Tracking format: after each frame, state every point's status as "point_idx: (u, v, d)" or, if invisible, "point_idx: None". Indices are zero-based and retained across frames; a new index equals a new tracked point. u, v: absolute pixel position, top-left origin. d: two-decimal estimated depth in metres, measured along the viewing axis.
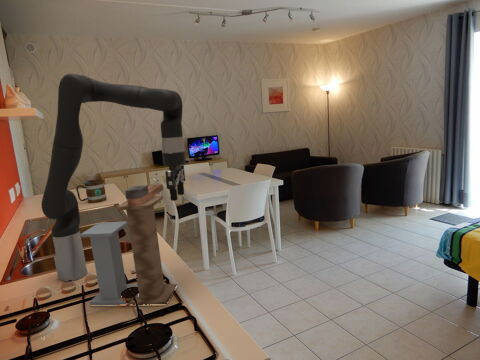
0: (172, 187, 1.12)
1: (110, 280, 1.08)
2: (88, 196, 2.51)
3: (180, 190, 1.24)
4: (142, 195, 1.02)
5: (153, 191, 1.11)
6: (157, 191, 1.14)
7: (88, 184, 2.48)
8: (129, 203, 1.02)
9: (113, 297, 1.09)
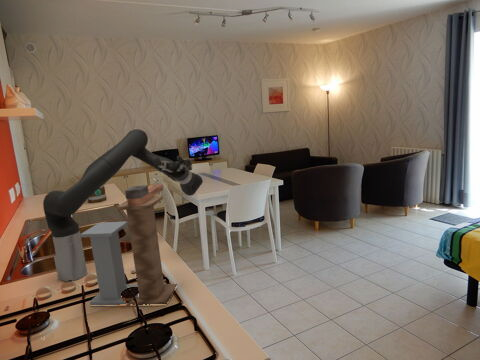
0: (188, 164, 1.34)
1: (110, 280, 1.08)
2: None
3: (158, 160, 1.33)
4: (142, 195, 1.02)
5: (153, 191, 1.11)
6: (157, 191, 1.14)
7: None
8: (129, 203, 1.02)
9: (113, 297, 1.09)
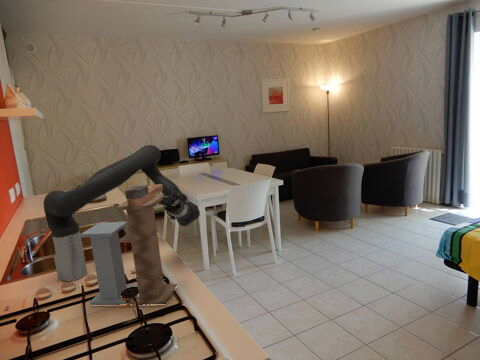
0: (184, 199, 1.26)
1: (110, 280, 1.08)
2: None
3: None
4: (142, 195, 1.02)
5: (153, 191, 1.11)
6: (157, 191, 1.14)
7: None
8: (129, 203, 1.02)
9: (113, 297, 1.09)
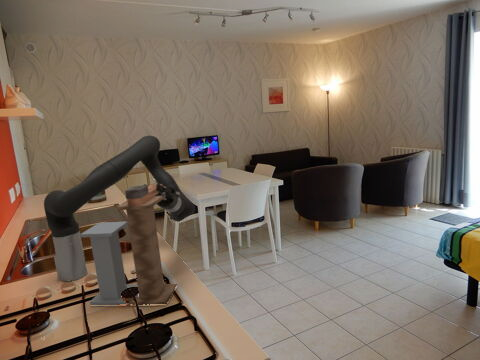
0: (170, 192, 1.18)
1: (110, 280, 1.08)
2: None
3: None
4: (142, 195, 1.02)
5: (153, 191, 1.11)
6: (157, 191, 1.14)
7: None
8: (129, 203, 1.01)
9: (113, 297, 1.09)
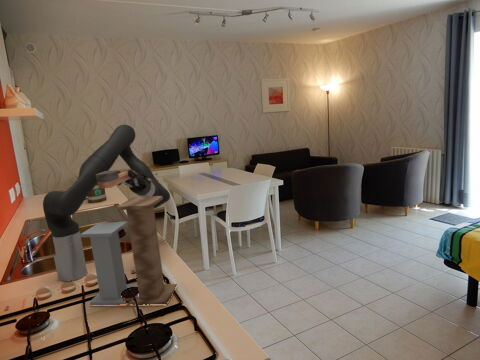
0: (141, 178, 1.27)
1: (110, 280, 1.08)
2: (88, 196, 2.51)
3: None
4: (112, 179, 1.11)
5: (124, 176, 1.20)
6: (128, 177, 1.23)
7: None
8: (99, 186, 1.10)
9: (113, 297, 1.09)
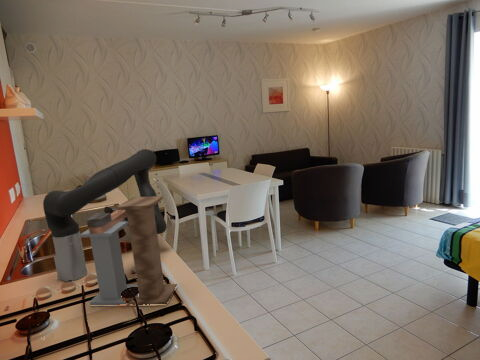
0: None
1: (110, 280, 1.08)
2: None
3: (108, 209, 1.19)
4: (104, 224, 1.04)
5: (117, 217, 1.14)
6: (122, 217, 1.17)
7: None
8: (91, 231, 1.04)
9: (113, 297, 1.09)
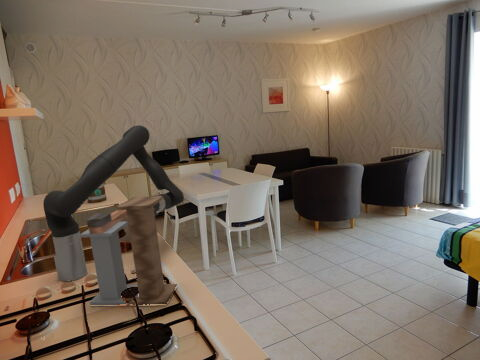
0: None
1: (110, 280, 1.08)
2: None
3: None
4: (104, 224, 1.04)
5: (117, 217, 1.14)
6: (122, 217, 1.17)
7: None
8: (91, 231, 1.04)
9: (113, 297, 1.09)
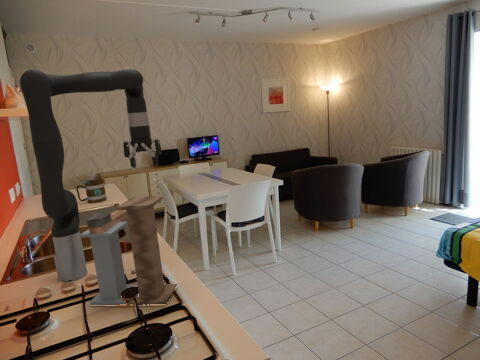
0: (161, 153, 1.33)
1: (110, 280, 1.08)
2: (88, 196, 2.51)
3: (134, 164, 1.35)
4: (104, 224, 1.04)
5: (117, 217, 1.14)
6: (122, 217, 1.17)
7: (88, 184, 2.48)
8: (91, 231, 1.04)
9: (113, 297, 1.09)
